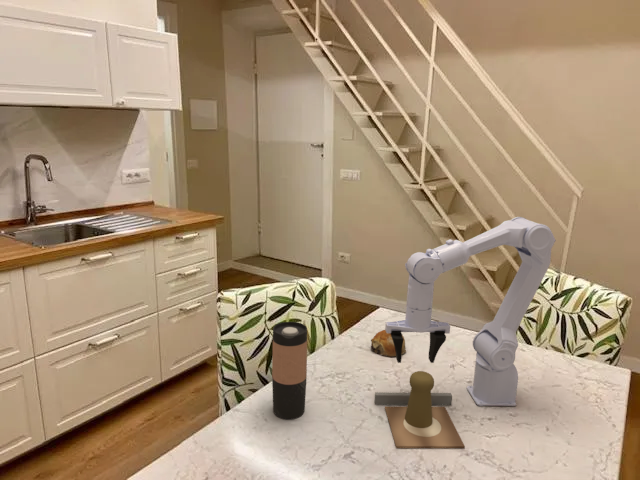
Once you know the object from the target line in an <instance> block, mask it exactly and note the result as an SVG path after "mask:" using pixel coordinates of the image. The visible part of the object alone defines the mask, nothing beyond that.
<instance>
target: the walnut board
mask: <svg viewBox="0 0 640 480" xmlns="http://www.w3.org/2000/svg"><path fill="white" fill-rule="evenodd" d="M406 410H407V406H402V405H384V411H385V414H386V418H387V421H388V425H389V429H390V431H391V436H392V439H393V442H394V446H395V449H465V447H466V446H465V444H464V441H463V440H462V438H461V436H460V434H459V432H458V430H457V428H456V426H455V424H454V423H453V420H452V419H451V416H450V414H449V412H448V411H447V408H446V406H432V425H431V426H429V427H427V428H417V427H413V426H411V425H409V424H408V423H407V422H406V421H405V414H406Z"/></svg>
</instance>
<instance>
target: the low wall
mask: <svg viewBox="0 0 640 480" xmlns="http://www.w3.org/2000/svg"><path fill="white" fill-rule="evenodd" d="M409 397H410V392H387V391H386V392H381V391H380V392H378V391H377V392H374V406H375V405H376V406H407V405H408V401H409ZM452 401H453V394H452V393H451V392H431V402H432V406H452Z"/></svg>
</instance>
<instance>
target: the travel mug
mask: <svg viewBox="0 0 640 480" xmlns="http://www.w3.org/2000/svg"><path fill="white" fill-rule="evenodd" d="M271 359H272V362H271V363H272V366H271V367H272V369H271V375H272V377H271V378H272V379H271V381H272V383H271V385H272V410H273V414H274V415H275V416H276V417H277V418H279V419H282V420H295V419H298V418H300V417H302V416H303V415H304V413H305V409H306V406H305V405H306V396H307V395H306V393H307V376H308V375H307V374H308V372H307V371H308V366H307V365H308V327H307V326H306V325H305V324H303V323H301V322H298V321H297V322H296V321H283V322H279V323H277V324H275V325H274V326H273V328H272V357H271Z"/></svg>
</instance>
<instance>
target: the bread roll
mask: <svg viewBox="0 0 640 480" xmlns="http://www.w3.org/2000/svg"><path fill="white" fill-rule="evenodd" d="M402 337H403V339H404V340H403V345H402V355H404V354H406V353H407V350H406V339H405V337H404V335H403V334H402ZM370 342H371V345H370V349H371V350H372V351H373V352H374V353H375V354H377V355H380V356H384V357H389V358H391V357H396V351H395V346H394V343H393V340H392V337H391V334H390V333H386V330H385V329H383V330H381V331H378V332H377V333H376V334H375V335H373V337H372V338H371V339H370Z"/></svg>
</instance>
